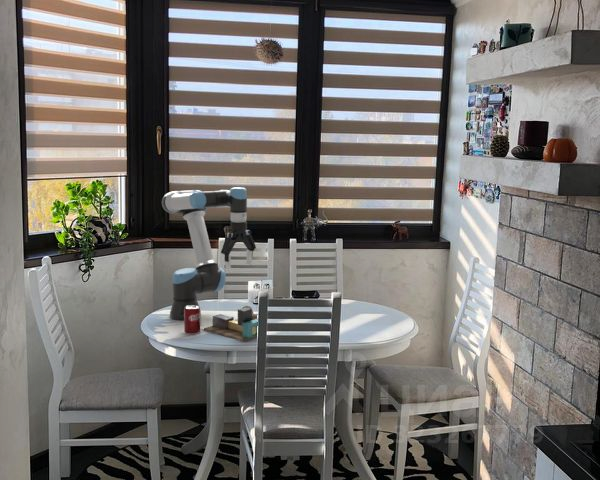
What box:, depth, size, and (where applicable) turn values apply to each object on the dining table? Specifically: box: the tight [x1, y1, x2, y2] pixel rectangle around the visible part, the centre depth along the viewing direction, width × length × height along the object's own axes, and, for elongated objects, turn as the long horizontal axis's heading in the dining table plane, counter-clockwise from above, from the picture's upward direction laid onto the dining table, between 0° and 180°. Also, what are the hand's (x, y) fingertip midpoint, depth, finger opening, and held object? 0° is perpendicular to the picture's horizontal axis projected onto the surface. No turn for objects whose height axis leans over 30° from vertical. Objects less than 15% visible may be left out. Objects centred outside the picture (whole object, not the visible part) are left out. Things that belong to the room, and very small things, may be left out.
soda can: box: [183, 305, 201, 335], centre depth 341 cm, size 7×7×12 cm
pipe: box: [242, 305, 259, 320], centre depth 363 cm, size 6×17×10 cm
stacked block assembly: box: [211, 313, 258, 339], centre depth 341 cm, size 26×10×6 cm, turn 49°
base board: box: [203, 325, 258, 343], centre depth 342 cm, size 27×14×1 cm, turn 49°
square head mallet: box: [226, 307, 257, 334], centre depth 339 cm, size 18×5×10 cm, turn 49°
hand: (238, 266), depth 348 cm, fingers open, 13 cm apart
